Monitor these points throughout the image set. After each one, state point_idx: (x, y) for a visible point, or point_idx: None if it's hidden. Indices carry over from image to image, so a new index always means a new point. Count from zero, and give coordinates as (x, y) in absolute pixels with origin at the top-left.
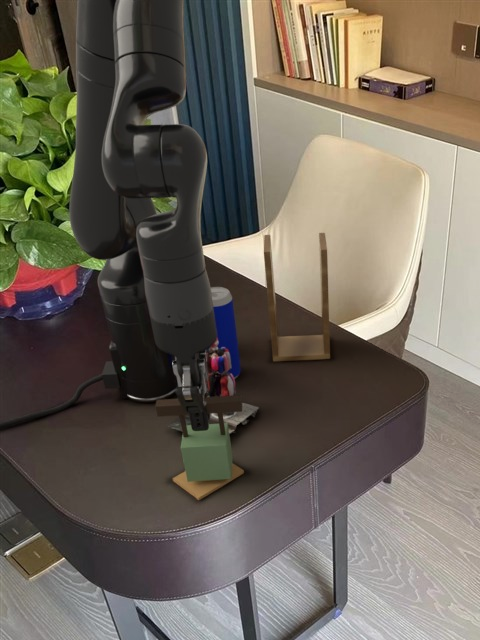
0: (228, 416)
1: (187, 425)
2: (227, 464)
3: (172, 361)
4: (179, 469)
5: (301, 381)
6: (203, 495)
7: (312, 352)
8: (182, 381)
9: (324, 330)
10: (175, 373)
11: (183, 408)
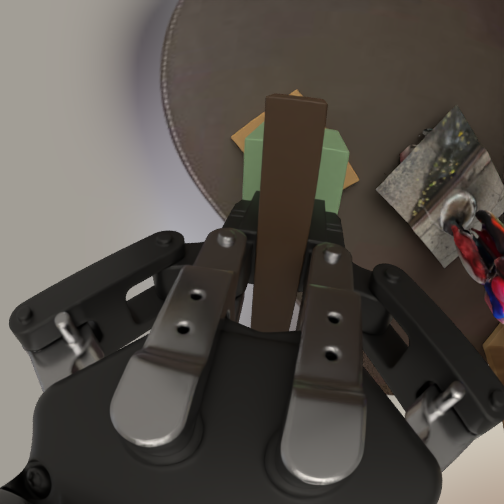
0: (442, 221)
1: (347, 161)
2: None
3: (129, 440)
4: (332, 103)
5: (469, 316)
6: (238, 145)
7: (499, 336)
8: (125, 346)
9: (495, 373)
10: (131, 363)
11: (120, 253)
